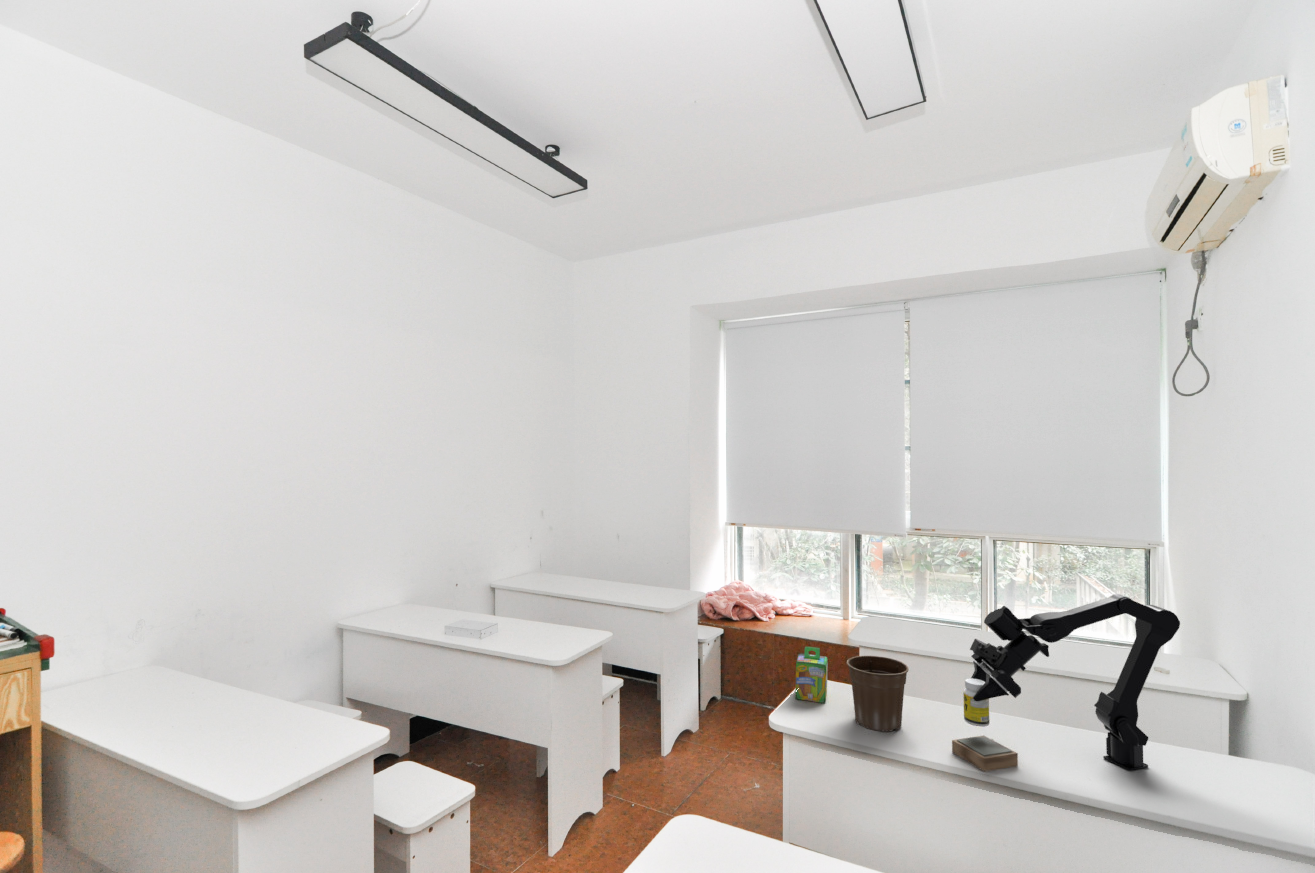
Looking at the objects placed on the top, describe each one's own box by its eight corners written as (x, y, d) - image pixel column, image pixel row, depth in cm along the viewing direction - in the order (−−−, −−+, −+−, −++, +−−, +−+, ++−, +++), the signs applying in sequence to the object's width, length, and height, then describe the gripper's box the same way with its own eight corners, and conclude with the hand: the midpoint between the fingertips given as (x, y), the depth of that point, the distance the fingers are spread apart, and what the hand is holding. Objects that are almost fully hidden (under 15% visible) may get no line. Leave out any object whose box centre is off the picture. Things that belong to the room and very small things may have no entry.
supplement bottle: (964, 715, 158) (963, 675, 159) (989, 720, 155) (988, 679, 156) (963, 724, 153) (963, 682, 153) (989, 728, 150) (988, 686, 151)
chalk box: (795, 699, 185) (795, 650, 186) (797, 689, 193) (798, 642, 194) (826, 703, 182) (826, 653, 183) (827, 693, 191) (828, 645, 191)
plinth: (1017, 765, 145) (1017, 751, 145) (984, 771, 142) (984, 757, 142) (983, 747, 155) (983, 734, 155) (952, 752, 152) (952, 738, 152)
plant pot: (850, 732, 162) (850, 671, 163) (843, 709, 178) (843, 653, 179) (915, 738, 159) (914, 675, 160) (901, 713, 175) (901, 657, 176)
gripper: (978, 620, 164) (936, 659, 165) (1005, 639, 145) (957, 683, 147) (1011, 652, 162) (967, 691, 163) (1042, 675, 144) (993, 719, 145)
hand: (970, 695), depth 155 cm, fingers closed on supplement bottle, 6 cm apart
